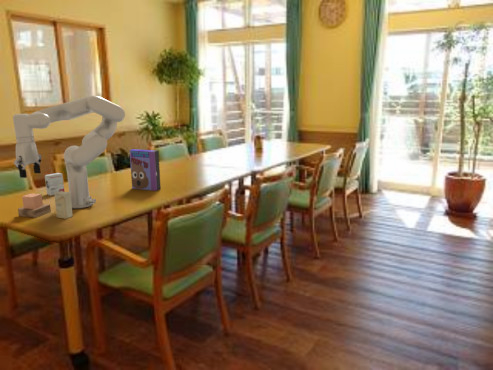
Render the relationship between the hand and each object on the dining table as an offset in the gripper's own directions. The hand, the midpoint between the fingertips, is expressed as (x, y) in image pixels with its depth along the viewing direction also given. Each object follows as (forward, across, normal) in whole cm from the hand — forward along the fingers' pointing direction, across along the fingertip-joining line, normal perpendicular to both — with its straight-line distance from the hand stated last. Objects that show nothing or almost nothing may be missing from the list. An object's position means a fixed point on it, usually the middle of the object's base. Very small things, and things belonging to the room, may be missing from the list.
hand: (30, 175), depth 197 cm
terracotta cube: (+16, +1, 0) cm, 16 cm away
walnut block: (+20, +1, 0) cm, 20 cm away
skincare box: (+20, +2, +18) cm, 27 cm away
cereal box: (+21, -56, +33) cm, 68 cm away
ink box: (+20, -36, -15) cm, 44 cm away
